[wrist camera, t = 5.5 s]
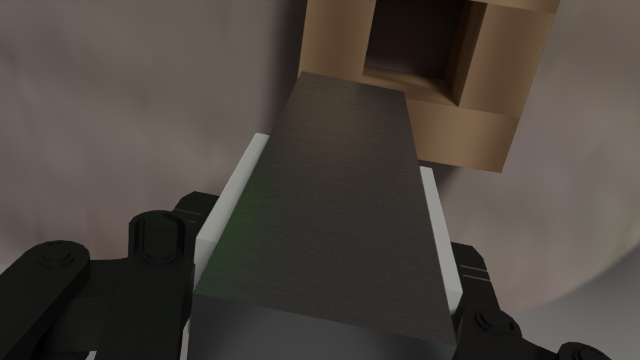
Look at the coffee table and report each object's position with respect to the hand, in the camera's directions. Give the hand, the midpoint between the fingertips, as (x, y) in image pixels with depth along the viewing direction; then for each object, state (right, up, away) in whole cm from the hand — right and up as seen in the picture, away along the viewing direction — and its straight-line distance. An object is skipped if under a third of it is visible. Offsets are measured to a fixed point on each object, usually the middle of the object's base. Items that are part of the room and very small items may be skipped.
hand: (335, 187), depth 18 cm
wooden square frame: (+5, +10, +16) cm, 20 cm away
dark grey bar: (0, +3, +5) cm, 6 cm away
